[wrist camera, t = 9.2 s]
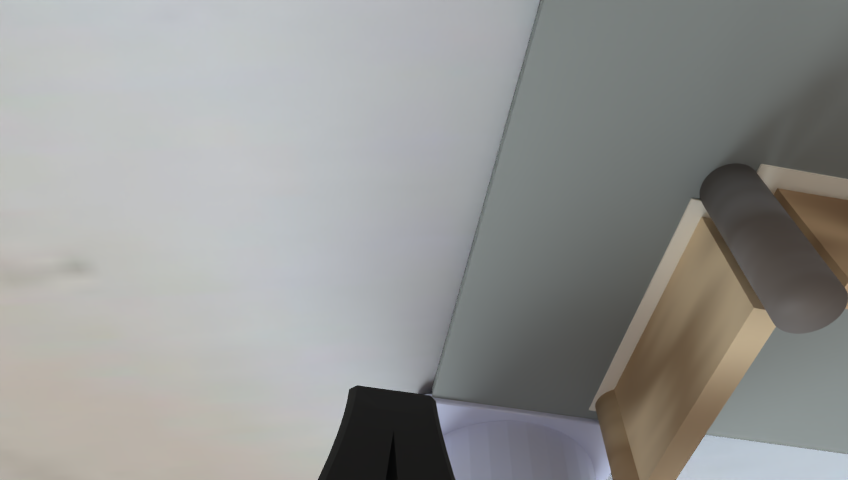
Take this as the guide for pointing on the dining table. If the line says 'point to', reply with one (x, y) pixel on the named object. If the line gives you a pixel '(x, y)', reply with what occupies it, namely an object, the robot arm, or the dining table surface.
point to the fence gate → (821, 226)
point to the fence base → (714, 324)
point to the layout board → (648, 201)
